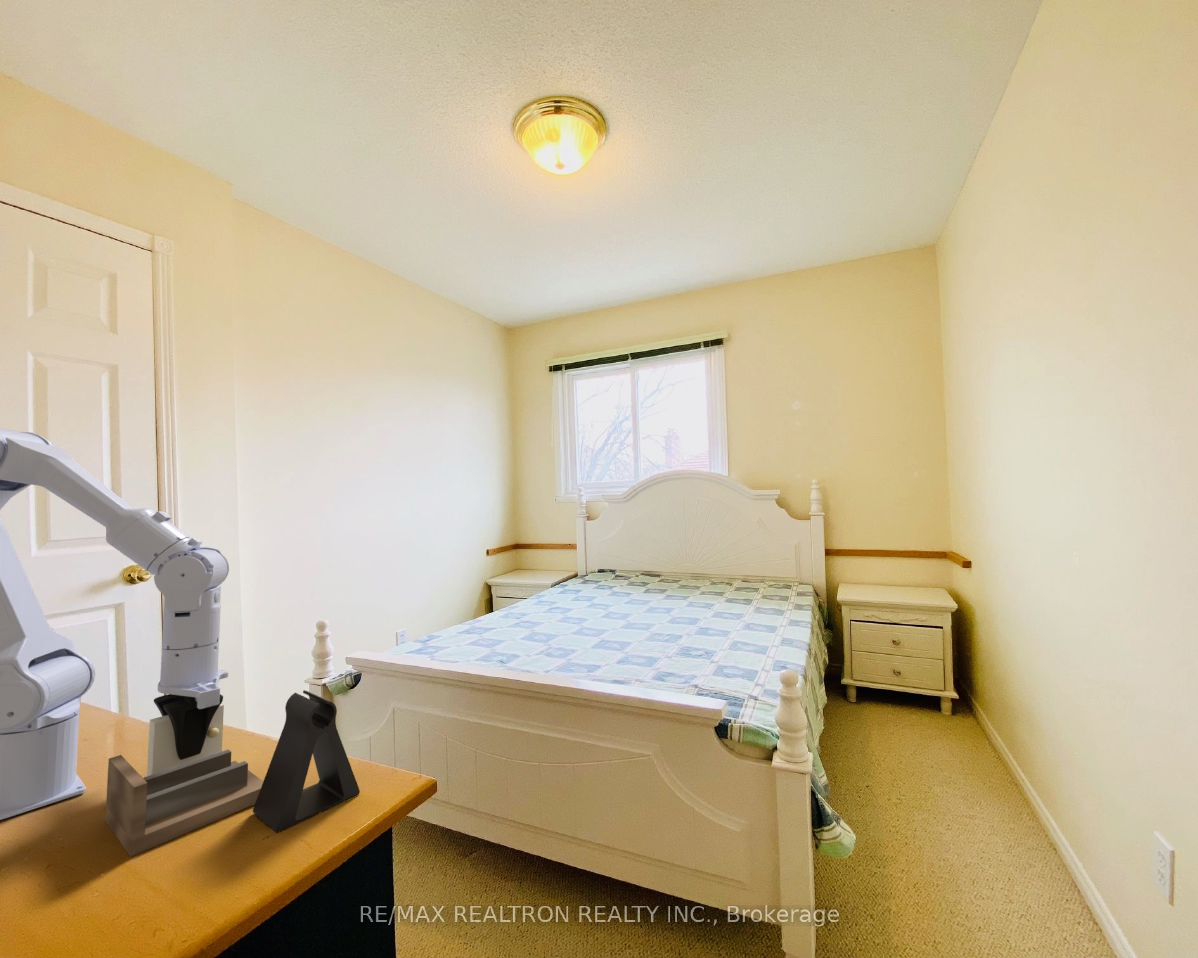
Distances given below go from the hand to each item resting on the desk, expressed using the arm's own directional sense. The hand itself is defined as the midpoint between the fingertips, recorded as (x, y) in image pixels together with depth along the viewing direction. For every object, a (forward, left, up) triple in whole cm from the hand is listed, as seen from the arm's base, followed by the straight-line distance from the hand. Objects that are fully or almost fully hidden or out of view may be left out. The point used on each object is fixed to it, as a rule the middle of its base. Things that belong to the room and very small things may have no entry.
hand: (186, 753), depth 63 cm
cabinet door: (0, 0, -3) cm, 3 cm away
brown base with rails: (+9, -2, -3) cm, 10 cm away
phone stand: (+19, +6, -3) cm, 20 cm away
